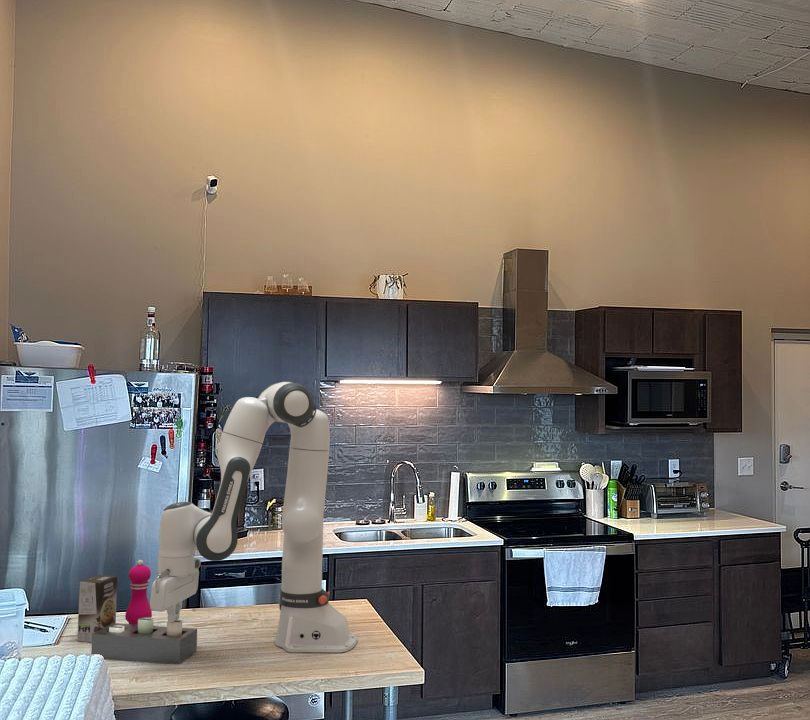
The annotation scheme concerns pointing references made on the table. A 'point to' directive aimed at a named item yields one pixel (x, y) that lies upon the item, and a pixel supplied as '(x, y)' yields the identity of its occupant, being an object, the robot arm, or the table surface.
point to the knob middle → (145, 626)
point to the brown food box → (96, 605)
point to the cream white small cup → (174, 628)
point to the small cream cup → (116, 628)
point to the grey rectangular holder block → (144, 644)
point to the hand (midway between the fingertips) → (173, 620)
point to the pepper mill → (139, 594)
